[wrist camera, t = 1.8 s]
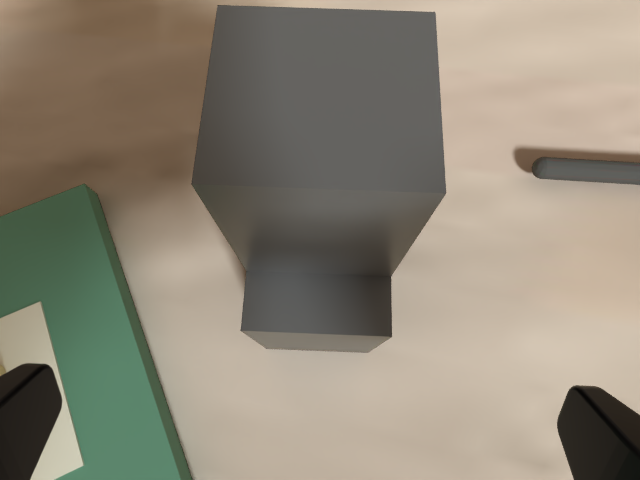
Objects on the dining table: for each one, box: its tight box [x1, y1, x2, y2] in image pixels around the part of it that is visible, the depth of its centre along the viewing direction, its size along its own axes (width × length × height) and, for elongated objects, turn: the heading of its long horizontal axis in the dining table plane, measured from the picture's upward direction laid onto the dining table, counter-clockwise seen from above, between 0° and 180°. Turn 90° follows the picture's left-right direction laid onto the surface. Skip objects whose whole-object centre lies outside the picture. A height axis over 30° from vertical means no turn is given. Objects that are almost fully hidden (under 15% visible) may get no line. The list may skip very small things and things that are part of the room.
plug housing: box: [192, 5, 446, 353], centre depth 14 cm, size 7×4×12 cm
